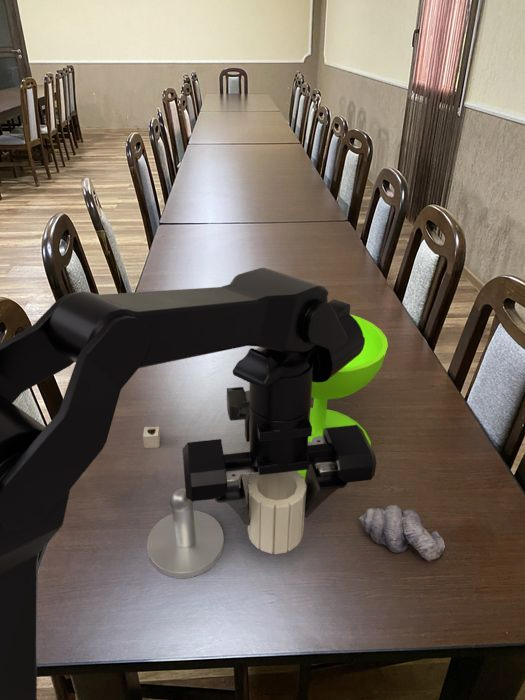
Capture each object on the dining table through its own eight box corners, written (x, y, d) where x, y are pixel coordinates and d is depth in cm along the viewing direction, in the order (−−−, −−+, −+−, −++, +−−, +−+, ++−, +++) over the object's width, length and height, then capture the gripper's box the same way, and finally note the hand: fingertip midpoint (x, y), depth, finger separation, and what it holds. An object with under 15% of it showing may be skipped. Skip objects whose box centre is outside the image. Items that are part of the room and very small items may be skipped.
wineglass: (325, 398, 89) (334, 300, 79) (395, 455, 77) (414, 348, 68) (242, 432, 81) (241, 328, 72) (305, 500, 70) (314, 387, 61)
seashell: (441, 560, 64) (357, 537, 67) (448, 515, 64) (365, 494, 67) (442, 571, 59) (352, 546, 62) (450, 522, 59) (360, 499, 62)
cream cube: (160, 438, 80) (159, 425, 79) (159, 447, 78) (157, 434, 77) (145, 438, 80) (144, 425, 79) (144, 448, 78) (142, 435, 77)
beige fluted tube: (252, 557, 56) (252, 510, 53) (244, 513, 61) (244, 467, 58) (308, 549, 57) (312, 503, 53) (295, 506, 62) (298, 461, 58)
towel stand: (147, 584, 59) (138, 529, 55) (147, 520, 67) (140, 468, 62) (228, 572, 61) (226, 518, 56) (220, 511, 68) (217, 459, 64)
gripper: (349, 350, 58) (337, 458, 66) (175, 364, 55) (185, 475, 63) (387, 412, 49) (368, 529, 57) (180, 434, 46) (191, 554, 54)
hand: (276, 518), depth 58 cm, fingers closed on beige fluted tube, 6 cm apart
